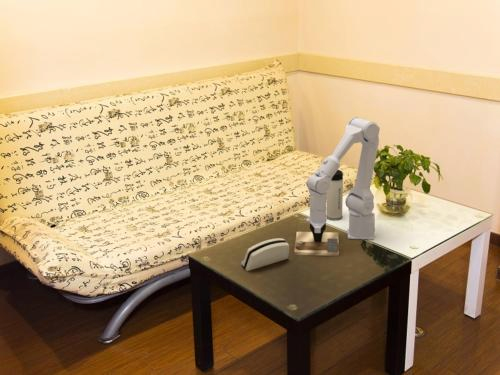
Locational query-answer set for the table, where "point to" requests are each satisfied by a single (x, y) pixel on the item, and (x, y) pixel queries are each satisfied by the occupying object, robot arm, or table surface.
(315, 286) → the table surface
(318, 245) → the link
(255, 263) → the white pencil case
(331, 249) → the keeper
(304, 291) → the table surface
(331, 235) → the latch board
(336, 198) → the travel mug
